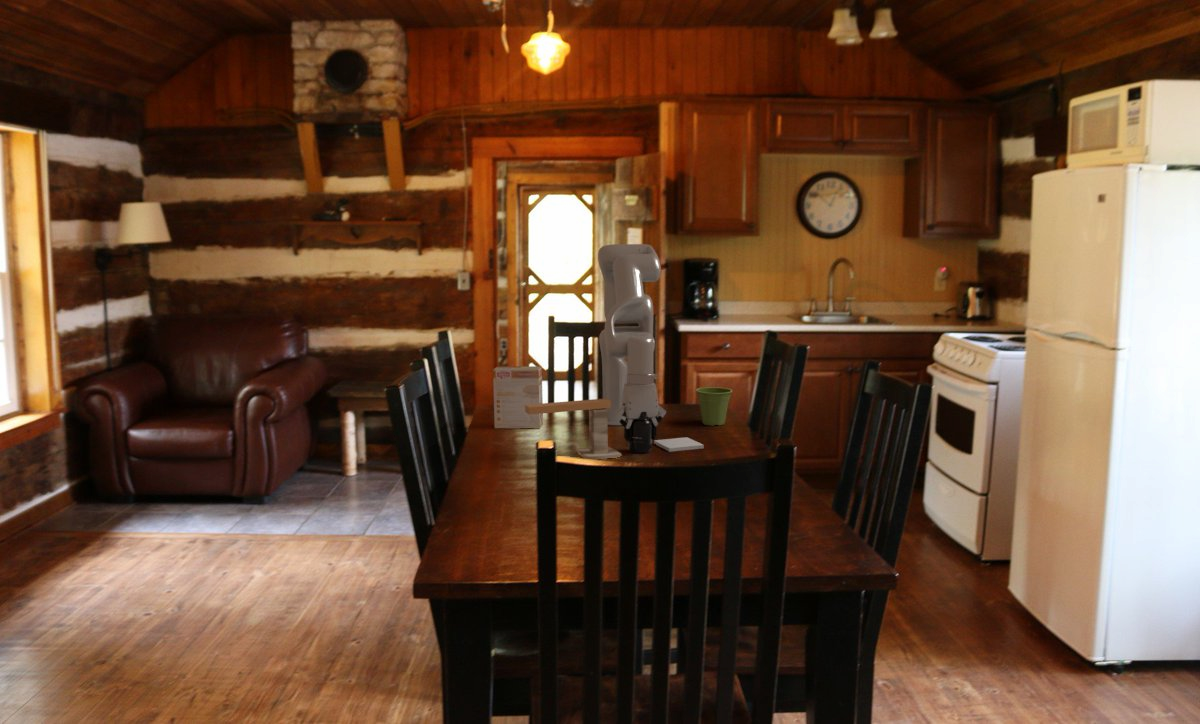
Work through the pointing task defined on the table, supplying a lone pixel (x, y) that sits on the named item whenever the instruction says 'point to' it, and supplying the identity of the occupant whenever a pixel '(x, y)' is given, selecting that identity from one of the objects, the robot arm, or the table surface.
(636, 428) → the supplement bottle
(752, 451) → the table surface
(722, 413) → the plant pot
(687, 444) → the grey mat
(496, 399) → the coffeecake box
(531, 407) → the strap bar
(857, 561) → the table surface
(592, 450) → the stand
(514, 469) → the table surface
